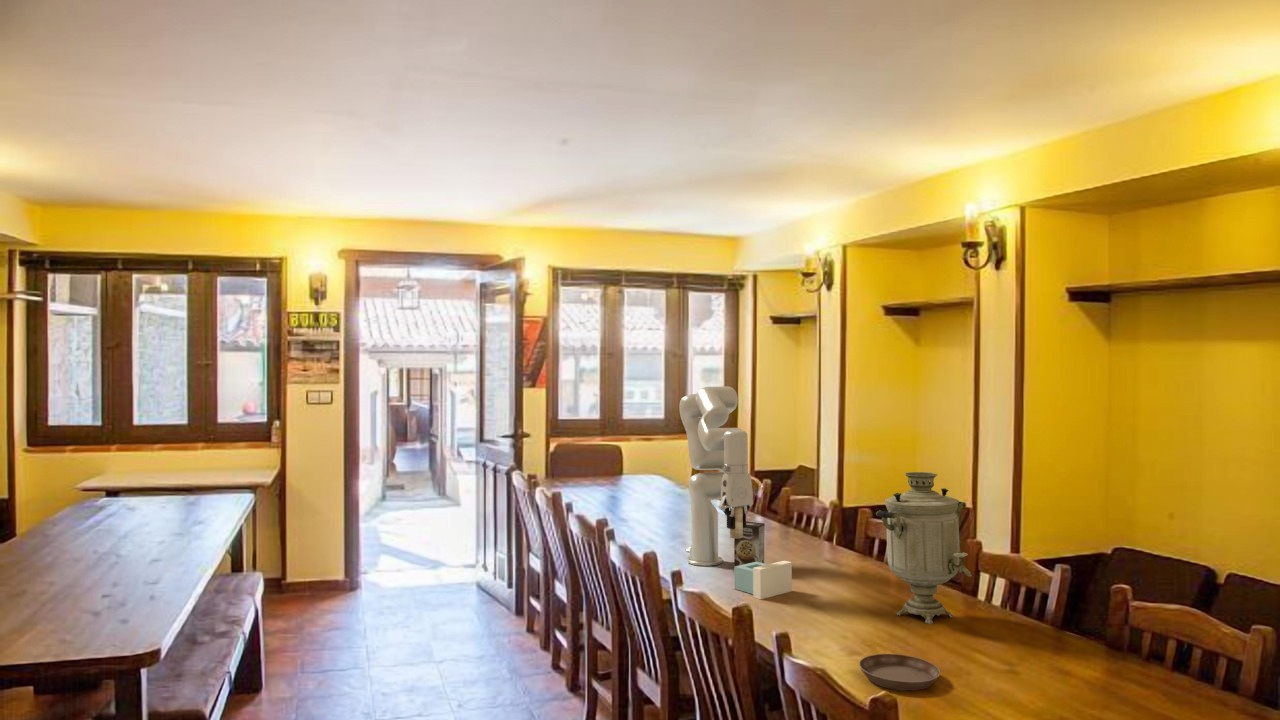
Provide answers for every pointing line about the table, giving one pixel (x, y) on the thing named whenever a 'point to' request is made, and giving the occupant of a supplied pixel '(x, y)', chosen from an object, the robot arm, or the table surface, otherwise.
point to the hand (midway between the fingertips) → (736, 527)
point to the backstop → (772, 579)
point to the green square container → (745, 576)
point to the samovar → (923, 542)
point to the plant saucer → (899, 671)
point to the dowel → (737, 523)
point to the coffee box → (750, 544)
